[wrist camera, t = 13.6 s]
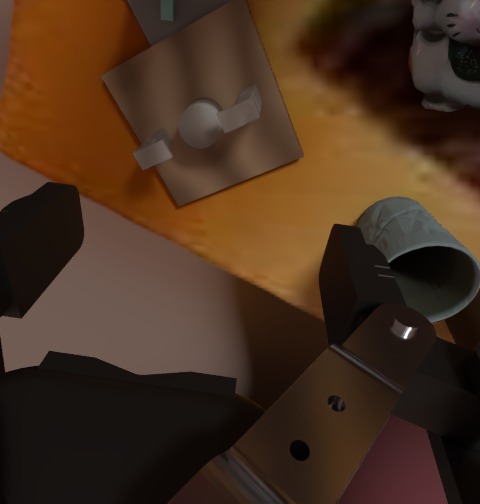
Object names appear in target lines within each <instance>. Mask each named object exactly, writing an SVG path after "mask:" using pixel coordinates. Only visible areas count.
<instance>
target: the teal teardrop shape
mask: <svg viewBox="0 0 480 504" xmlns="http://www.w3.org/2000/svg"><path fill="white" fill-rule="evenodd" d="M160 1H161V20H167V21H175V0H160Z"/></svg>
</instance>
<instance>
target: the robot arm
mask: <svg viewBox="0 0 480 504" xmlns="http://www.w3.org/2000/svg"><path fill="white" fill-rule="evenodd" d="M83 238H84V226H83V219H82V211H81V205H80V197H79V192H78V189H77V188H76V186H74V185H68V184H61V183H54V182H47V183H46V184H45V185H43V186H42V187H40V188H39V189H38V190H36V191H35V192H34V193H33V194H31V195H28V196H25V197H23V198H20V199H18V200H15V201H13V202H11V203H10V204H9V205H7V206H6V207H4V208H3V209H2V210H1V212H0V317H1V316H8V317H15V318H22V317H23V316H24V315H25V313H27V311H28V310H29V309H30V308H31V307H32V305H33V304H34V303H35V302H36V301H37V299H38V298H39V297H40V296H41V294H42V293H43V292H44V291H45V290H46V288H47V287H48V286H49V285H50V284H51V282H52V281H53V280H54V279H55V278H56V276H57V275H58V274H59V273H60V272H61V270H62V269H63V268H64V267H65V266H66V264H67V263H68V262H69V261H70V259H71V258H72V257H73V256H74V255H75V253H76V252H77V251H78V250H79V249H80V247H81V245H82V242H83ZM319 287H320V294H321V300H322V307H323V313H324V320H325V326H326V332H327V339H328V346H329V347H328V349H326V350H325V351H324V353H323V354H322V355H321V356H320V357H319V358H318V359H317V360H316V361H315V362H314V363H313V364H312V365H311V366H310V367H309V368H308V369H307V370H306V371H305V372H304V373H303V374H302V375H301V376H300V377H299V378H298V379H297V380H296V381H295V382H294V383H293V384H292V386H291V387H290V388H289V389H288V390H287V391H286V392H285V393H284V394H283V395H282V396H281V397H280V398H279V399H278V400H277V401H276V402H275V403H274V404H273V405H272V406H271V407H270V408H269V409H268V410H267V411H265V410H264V409H262V408H261V407H260V406H258V405H257V404H255V403H254V402H252V401H251V400H249V399H247V398H245V397H243V396H241V395H238V394H236V393H235V390H236V389H235V388H236V380H237V379H236V378H230V377H223V376H216V375H209V374H203V373H196V372H179V373H166V374H151V375H137V374H134V373H132V372H129V371H127V370H124V369H122V368H119V367H117V366H114V365H112V364H110V363H107V362H105V361H102V360H100V359H97V358H94V357H87V356H80V355H74V354H67V353H60V352H53V351H49V352H48V354H47V355H46V357H45V358H44V359H43V361H42V362H41V364H40V365H39V366H32V367H26V368H20V369H17V370H13V371H9V372H6V373H5V367H4V359H3V352H2V345H1V338H0V504H336V503H337V502H338V500H339V499H340V497H341V495H342V493H343V492H344V490H345V489H346V487H347V485H348V484H349V482H350V480H351V479H352V477H353V476H354V474H355V472H356V471H357V469H358V467H359V465H360V464H361V462H362V461H363V459H364V458H365V456H366V454H367V453H368V451H369V449H370V448H371V446H372V444H373V443H374V441H375V440H376V438H377V436H378V435H379V433H380V431H381V430H382V428H383V426H384V425H385V423H386V422H387V420H388V418H389V417H390V415H391V414H393V415H395V416H397V417H400V418H402V419H404V420H406V421H409V422H411V423H413V424H415V425H418V426H420V427H422V428H424V429H426V430H427V433H428V437H429V440H430V443H431V447H432V450H433V454H434V457H435V461H436V464H437V467H438V470H439V474H440V477H441V481H442V484H443V487H444V491H445V494H446V498H447V501H448V504H480V342H478V344H477V345H476V346H475V348H474V349H473V351H472V350H469V349H467V348H464V347H461V346H458V345H456V344H453V343H450V342H448V341H445V340H443V339H440V338H438V337H436V331H435V328H434V326H433V325H432V323H431V322H430V321H429V320H428V319H427V318H426V317H425V316H423V315H422V314H421V313H419V312H418V311H416V310H414V309H412V308H410V307H407V304H406V302H405V300H404V298H403V295H402V293H401V291H400V288H399V286H398V284H397V282H396V279H395V278H394V275H393V273H392V270H391V269H390V266H389V263H388V261H387V259H386V257H385V255H384V254H383V253H382V252H381V251H380V250H379V249H378V248H377V247H376V246H374V245H370V244H366V242H365V240H364V237H363V234H362V232H361V229H360V228H359V227H355V226H348V225H341V224H334V225H333V227H332V230H331V233H330V236H329V239H328V243H327V246H326V249H325V253H324V256H323V259H322V263H321V267H320V272H319Z"/></svg>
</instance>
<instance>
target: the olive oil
mask: <svg viewBox="0 0 480 504" xmlns="http://www.w3.org/2000/svg"><path fill="white" fill-rule="evenodd" d="M445 320H446V324H447V326H448V328H449V330H450V332H451V334H452V337H453V339H454V341H455V343H456V345H458V346H461V347H464V348H467V349H469V350H472V351H473V349H474V348H475V346H476V345H477V344H478V342H480V288H479V290H478V292H477V294H476V295H475V297H474V298H473V300H472V301H471V302H470V303H469V304H468V305H467V306H466V307H464V308H463V309H462V310H461V311H459V312H458V313H456V314H454V315H453V316H450V317H448V318H446V319H445Z"/></svg>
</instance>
